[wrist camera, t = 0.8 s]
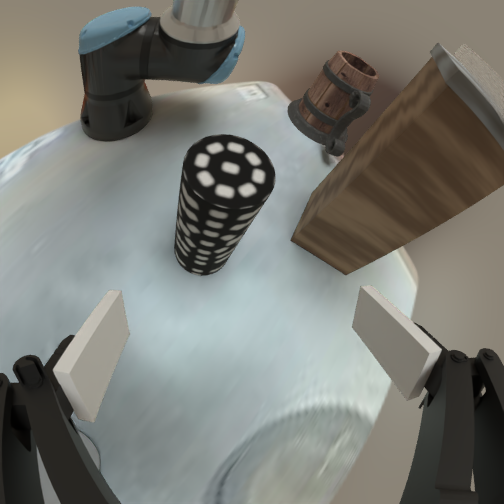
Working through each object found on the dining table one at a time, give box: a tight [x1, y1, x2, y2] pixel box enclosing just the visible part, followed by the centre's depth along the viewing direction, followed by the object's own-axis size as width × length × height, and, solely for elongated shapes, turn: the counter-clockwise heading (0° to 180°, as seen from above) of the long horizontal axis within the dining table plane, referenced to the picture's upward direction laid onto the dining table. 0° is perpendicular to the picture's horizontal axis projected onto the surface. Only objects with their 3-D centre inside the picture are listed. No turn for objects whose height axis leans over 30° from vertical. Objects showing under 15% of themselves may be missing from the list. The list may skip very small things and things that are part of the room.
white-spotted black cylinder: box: [174, 134, 275, 275], centre depth 32 cm, size 8×8×20 cm
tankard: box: [288, 51, 379, 156], centre depth 51 cm, size 24×17×20 cm
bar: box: [455, 44, 504, 124], centre depth 15 cm, size 32×3×3 cm, turn 154°
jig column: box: [291, 43, 504, 275], centre depth 33 cm, size 13×13×37 cm
